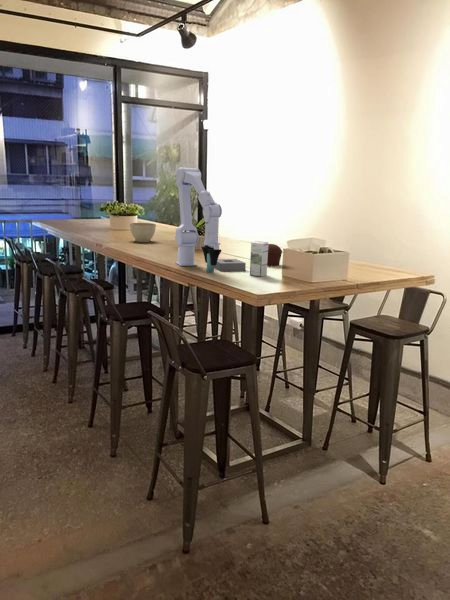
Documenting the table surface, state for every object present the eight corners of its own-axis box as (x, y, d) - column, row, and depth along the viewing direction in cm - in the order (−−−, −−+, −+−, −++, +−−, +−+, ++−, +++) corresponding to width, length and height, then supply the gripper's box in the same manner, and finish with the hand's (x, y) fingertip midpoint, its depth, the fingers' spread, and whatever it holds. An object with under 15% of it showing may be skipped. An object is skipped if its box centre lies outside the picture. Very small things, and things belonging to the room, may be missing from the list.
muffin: (255, 262, 258) (256, 242, 256) (276, 262, 261) (277, 242, 259) (263, 266, 247) (264, 245, 245) (285, 266, 250) (286, 246, 248)
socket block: (211, 266, 242) (211, 259, 241) (235, 266, 246) (235, 258, 245) (220, 271, 231) (220, 263, 230) (245, 270, 235) (245, 262, 234)
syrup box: (267, 275, 225) (269, 241, 222) (261, 277, 220) (262, 243, 217) (255, 273, 228) (257, 240, 225) (249, 275, 223) (250, 241, 220)
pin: (205, 271, 229) (206, 253, 227) (212, 271, 230) (213, 253, 228) (208, 272, 226) (208, 254, 224) (215, 272, 227) (215, 254, 225)
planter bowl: (125, 241, 320) (125, 223, 318) (136, 239, 335) (136, 222, 333) (149, 243, 316) (149, 225, 313) (159, 241, 331) (160, 223, 328)
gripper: (226, 234, 219) (225, 266, 222) (214, 231, 232) (213, 261, 235) (210, 234, 216) (209, 266, 219) (199, 231, 230) (198, 261, 233)
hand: (210, 264), depth 227 cm, fingers open, 7 cm apart
